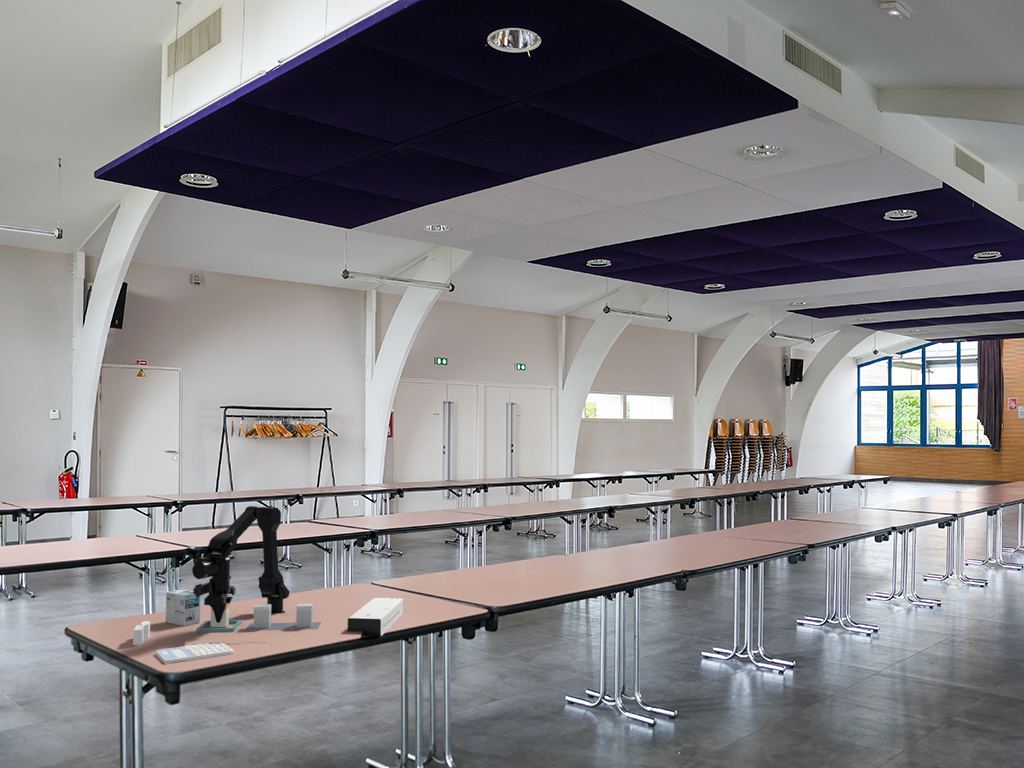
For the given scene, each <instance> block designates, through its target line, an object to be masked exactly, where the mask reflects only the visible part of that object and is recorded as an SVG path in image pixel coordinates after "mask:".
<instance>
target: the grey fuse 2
mask: <svg viewBox="0 0 1024 768" xmlns="http://www.w3.org/2000/svg"><path fill="white" fill-rule="evenodd" d="M295 613H296V616H295V617H296V618H295V619H296V621H295V623H296V627H312V625H313V622H314V603H297V605H296V612H295Z"/></svg>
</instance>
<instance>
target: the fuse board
mask: <svg viewBox="0 0 1024 768" xmlns="http://www.w3.org/2000/svg"><path fill="white" fill-rule="evenodd" d="M321 624H322V621H313V625H312V627H296V622H271V626H270V627H269V628H254V622H252V623H250V622H249V624H248V625H247V626H246V628H244V630H243V631H249V632H250V631H252V632H253V631H290V630H292V631H293V630H294V631H295V630H298V631H299V630H318V629H319V627H320V626H321Z"/></svg>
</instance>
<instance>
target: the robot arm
mask: <svg viewBox="0 0 1024 768" xmlns="http://www.w3.org/2000/svg"><path fill="white" fill-rule="evenodd" d="M281 519H282V512H281V510H280V508H278V507H272V506H261V507H260V506H257V505H255V506H254V505H249V506H247V507H246V508H245V510H244V511H243V512H242V513H241V514H240V515H239V516H238V517H237V518H236V520H234V521H233V522H232V524H231V525H230V526H229V527H228V528H227V529H225V530H223V531H221V532H218V533H217V534H216V535H213V537H212V538H210V540H209V543H208V545H207V547H206V549H205V551H204V553H203V555H202V557H198V558H197V561H196V562H195V563H194V564H193V566H192V568H191V569H192V575H193V577H194V578H196V579H197V580H202V579H207V578H210V579H209V581H208V582H205V583H199V584H195V586H194V588H193V589H192V591H194V592H193V594H195V596H196V598H197V597H200V598H201V596H204V595H205V594H206V595H207V594H208V595H207V596H206V597H205V598H204V600H203V605H204V606H210V608H211V607H212V608H213V611H214V615H215V619H216V622H217V623H220V621H221V619H222V616H223V613H224V610H225V608H226V605H227V603H229V605H230V604H231V602H232V600H233V598H234V596H235V595H236V592H237V591H236V587H235V586H234V585H231V584H230V581H231V579H232V576H231V560H234V559H236V557H235V556H234V555H233V554H232V552H233V551H234V549H236V547H237V546H238V540H239V538H241V536H242V535H243V534H244V533H245V532H246V531H247V529H249V527H250V526H251V525H252V524H253V523H254V522H255V521H256V523H257V526H258V528H259V529H260V531H261V532H262V534H261V535H262V551H263V552H262V553H263V572H262V575H261V576H258V589H259V590H260V594H261V598H262V599H265V598H266V601H267V602H266V604H271V615H272V614H274V615H276V614H285V613H286V610H284V600H285V599H286V600H287V598H289V597H290V590H289V589H288V588H287V586H286V584H285V581H284V576H283V575H282V573H281V572H280V570H279V556H278V555H279V554H278V534H277V531H278V530H279V527H280V525H281V523H282V522H281ZM229 595H231V596H229Z"/></svg>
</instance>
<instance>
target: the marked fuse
mask: <svg viewBox="0 0 1024 768" xmlns="http://www.w3.org/2000/svg"><path fill="white" fill-rule="evenodd" d="M229 620H230V604H229V603H227V605H226V608H225V610H224V613H223V616H222V619H221V621H220V623H217V622H216V619H215V615H214V611H213V608H212V607H211V606H210V621H211V624H210V628H227V627H228V626H229V625H230V624H229Z"/></svg>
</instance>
